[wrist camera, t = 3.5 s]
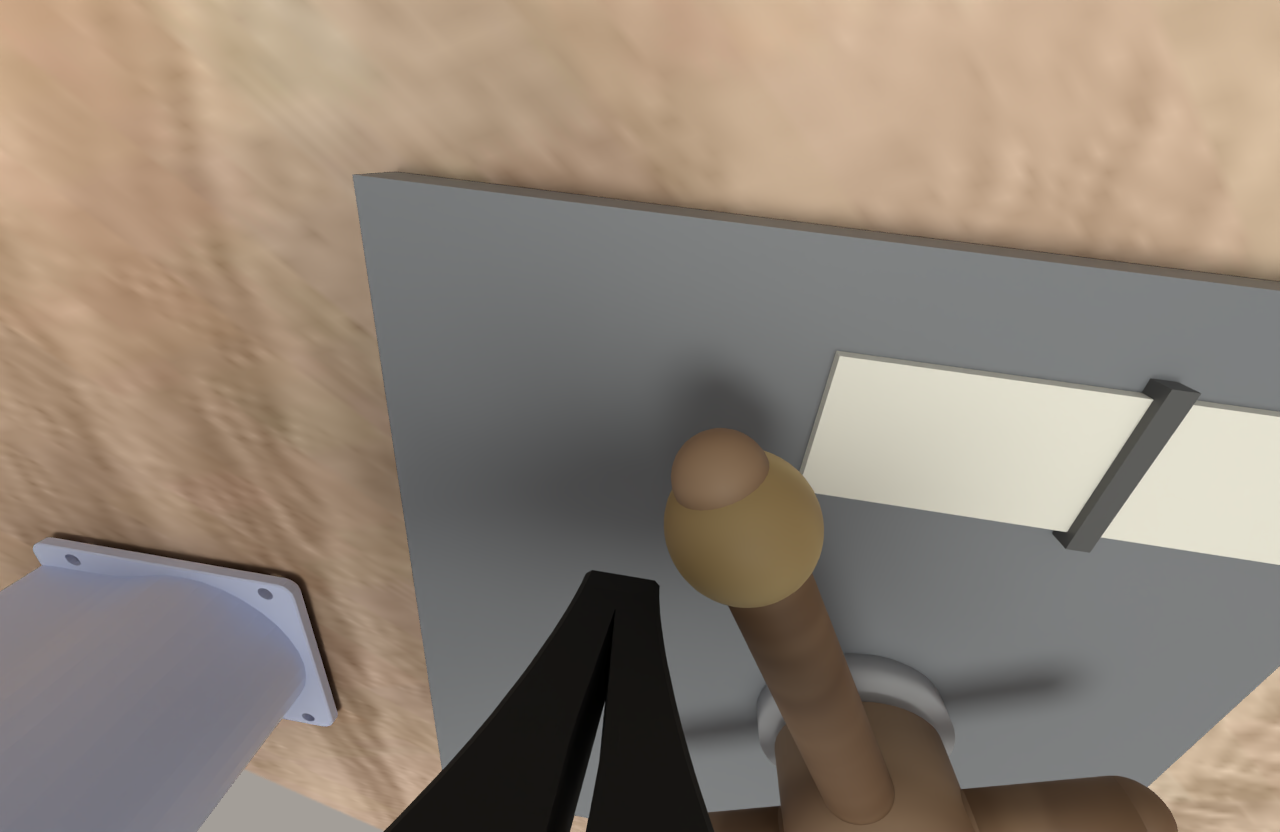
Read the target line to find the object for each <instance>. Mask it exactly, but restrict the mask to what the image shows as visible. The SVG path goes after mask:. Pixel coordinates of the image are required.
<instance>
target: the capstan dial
mask: <svg viewBox="0 0 1280 832" xmlns="http://www.w3.org/2000/svg"><path fill="white" fill-rule="evenodd" d="M671 484H672V490H671V492H670V495H669V497H668V500H667V504H666V508H665V513H664V535H665V541H666V545H667V549H668V551H669V554H670V556H671V559H672V561H673V563H674V565H675V566H676V568H677V569H678V571H679V573H680V574H681V575H682V577H683V578H684V579H685V580H686V581H687V582H688V583H689V584H690V585H691V586H692V587H693V588H694V589H695V590H697V591H698V592H699V593H701V594H702V595H704V596H706V597H708V598H710V599H711V600H713V601H716V602H718V603H721V604H724V605H728V607H729V609H730V611H731V613H732V615H733V617H734V619H735V621H736V623H737V625H738V627H739V629H740V631H741V633H742V635H743V637H744V639H745V641H746V643H747V645H748V648H749V650H750V652H751V654H752V656H753V658H754V660H755V662H756V664H757V666H758V668H759V670H760V672H761V674H762V676H763V678H764V680H765V682H766V684H767V686H768V688H769V690H770V692H771V694H772V696H773V698H774V700H775V702H776V704H777V707H778V709H779V711H780V713H781V715H782V717H783V719H784V721H785V723H786V724H785V725H784V726H783V728H782V729H781V730H780V731H779V733H778V735H777V737H776V741H775V749H774V750H775V759H776V768H777V777H778V786H779V795H780V804H781V806H771V807H760V808H750V809H739V810H728V811H717V812H708V814H709V817H710V820H711V823H712V826H713V829H714V832H1178V830H1177V824H1176V822H1175V819H1174V817H1173V815H1172V813H1171V811H1170V810H1169V808H1168V807H1167V806H1166V804H1165V803H1164V802H1163V801H1162V800H1161V799H1160V798H1159V797H1158V796H1157V795H1156V794H1155V793H1154V792H1153V791H1151V790H1150V789H1149V788H1147V787H1146V786H1144V785H1143V784H1141V783H1139V782H1137V781H1135V780H1132V779H1130V778H1127V777H1122V776H1110V775H1109V776H1098V777H1087V778H1076V779H1065V780H1055V781H1044V782H1033V783H1022V784H1011V785H1000V786H989V787H978V788H967V789H961V787H960V785H959V782H958V780H957V777H956V775H955V772H954V770H953V767H952V765H951V762H950V760H949V757H948V754H947V752H946V749H945V747H944V744H943V742H942V740H941V737H940V735H939V734H938V732H937V731H936V729H935V728H934V727H933V726H932V725H931V724H930V723H928V722H927V721H926V720H924V719H923V718H921V717H920V716H918V715H916V714H914V713H912V712H910V711H907V710H905V709H902V708H899V707H896V706H892V705H887V704H883V703H876V702H863V701H861V698H860V696H859V693H858V690H857V688H856V685H855V683H854V680H853V677H852V675H851V672H850V670H849V667H848V664H847V662H846V659H845V657H844V654H843V651H842V649H841V646H840V644H839V641H838V638H837V636H836V633H835V631H834V628H833V625H832V623H831V620H830V618H829V615H828V612H827V610H826V607H825V605H824V602H823V600H822V597H821V594H820V592H819V589H818V587H817V584H816V581H815V579H814V576H813V574H812V572H813V570H814V568H815V566H816V564H817V562H818V560H819V558H820V554H821V551H822V546H823V540H824V522H823V516H822V511H821V507H820V504H819V502H818V499H817V497H816V495H815V493H814V490H813V489H812V487H811V486H810V484H809V483H808V481H807V480H806V479H805V478H804V476H803V475H802V474H801V473H800V472H799V471H798V470H797V469H796V468H794V467H793V466H792V465H791V464H790V463H788V462H787V461H785V460H784V459H782V458H780V457H778V456H776V455H774V454H772V453H769V452H767V451H763V449H762V448H761V447H760V446H759V445H758V444H757V443H756V441H755V440H753V439H752V438H750V437H749V436H747V435H746V434H744V433H742V432H739V431H737V430H733V429H727V428H714V429H709V430H705V431H702V432H700V433H698V434H696V435H694V436H693V437H691V438H690V439H689V440H687V441H686V442H685V443H684V444H683V446H682V447H681V448H680V450H679V451H678V453H677V455H676V457H675V459H674V462H673V465H672V470H671Z"/></svg>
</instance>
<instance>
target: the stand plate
mask: <svg viewBox="0 0 1280 832" xmlns="http://www.w3.org/2000/svg"><path fill="white" fill-rule="evenodd" d="M353 181H354V188H355V194H356V201H357V208H358V214H359V221H360V228H361V234H362V241H363V247H364V254H365V261H366V267H367V274H368V281H369V287H370V294H371V301H372V307H373V314H374V321H375V327H376V334H377V340H378V347H379V354H380V360H381V367H382V374H383V380H384V387H385V394H386V400H387V407H388V414H389V420H390V427H391V433H392V440H393V447H394V453H395V460H396V467H397V473H398V480H399V487H400V493H401V500H402V507H403V513H404V520H405V526H406V533H407V540H408V546H409V553H410V560H411V566H412V573H413V580H414V586H415V593H416V600H417V606H418V613H419V620H420V626H421V633H422V639H423V646H424V653H425V659H426V666H427V673H428V679H429V686H430V693H431V699H432V706H433V713H434V719H435V726H436V732H437V739H438V746H439V752H440V759H441V766H442V770H443V769H444V768H445V767H446V766H447V765H448V763H449V762H450V761H451V760H452V759H453V758H454V757H455V756H456V754H457V753H458V752H459V751H460V750H461V749H462V748H463V747H464V745H465V744H466V743H467V742H468V741H469V740H470V739H471V737H472V736H473V735H474V734H475V733H476V732H477V730H478V729H479V728H480V727H481V726H482V724H483V723H484V722H485V721H486V720H487V718H488V717H489V716H490V715H491V714H492V712H493V711H494V710H495V709H496V707H497V706H498V705H499V703H500V702H501V701H502V700H503V698H504V697H505V696H506V694H507V693H508V692H509V691H510V689H511V688H512V687H513V685H514V684H515V683H516V682H517V680H518V679H519V678H520V676H521V675H522V674H523V673H524V671H525V670H526V669H527V667H528V666H529V664H530V663H531V662H532V660H533V659H534V657H535V656H536V654H537V653H538V652H539V650H540V649H541V647H542V646H543V644H544V643H545V641H546V640H547V639H548V637H549V636H550V634H551V633H552V631H553V630H554V628H555V627H556V625H557V624H558V622H559V621H560V619H561V617H562V616H563V614H564V613H565V611H566V609H567V608H568V606H569V604H570V603H571V601H572V599H573V598H574V596H575V594H576V592H577V590H578V588H579V587H580V585H581V583H582V580H583V578H584V576H585V574H586V573H587V572H589V571H591V570H596V571H602V572H608V573H614V574H620V575H626V576H632V577H638V578H644V579H650V580H655V581H656V582H657V583H658V585H659V586H660V590H659V599H660V616H661V625H662V632H663V639H664V646H665V652H666V657H667V663H668V668H669V672H670V677H671V682H672V686H673V691H674V696H675V700H676V704H677V708H678V712H679V717H680V721H681V724H682V728H683V732H684V735H685V739H686V743H687V746H688V750H689V754H690V757H691V760H692V764H693V767H694V771H695V774H696V777H697V780H698V784H699V787H700V790H701V793H702V796H703V799H704V802H705V805H706V808H707V811H708V812H717V811H728V810H739V809H750V808H760V807H771V806H781V804H780V795H779V786H778V777H777V768H776V759H775V750H774V749H775V741H776V737H777V735H778V733H779V731H780V730H781V729H782V728H783V726H784V725H785V724H786V723H785V721H784V719H783V717H782V715H781V713H780V711H779V709H778V707H777V704H776V702H775V700H774V698H773V696H772V694H771V692H770V690H769V688H768V686H767V684H766V682H765V680H764V678H763V676H762V674H761V672H760V670H759V668H758V666H757V664H756V662H755V660H754V658H753V656H752V654H751V652H750V650H749V648H748V645H747V643H746V641H745V639H744V637H743V635H742V633H741V631H740V629H739V627H738V625H737V623H736V621H735V619H734V617H733V615H732V613H731V611H730V609H729V607H728V605H724V604H721V603H718V602H716V601H713V600H711V599H710V598H708V597H706V596H704V595H702V594H701V593H699V592H698V591H697V590H695V589H694V588H693V587H692V586H691V585H690V584H689V583H688V582H687V581H686V580H685V579H684V578H683V577H682V575H681V574H680V573H679V571H678V569H677V568H676V566H675V565H674V563H673V561H672V559H671V556H670V554H669V551H668V549H667V545H666V541H665V535H664V513H665V508H666V504H667V500H668V497H669V495H670V492H671V490H672V484H671V470H672V465H673V462H674V459H675V457H676V455H677V453H678V451H679V450H680V448H681V447H682V446H683V444H684V443H685V442H686V441H687V440H689V439H690V438H691V437H693V436H694V435H696V434H698V433H700V432H702V431H705V430H709V429H714V428H727V429H733V430H737V431H739V432H742V433H744V434H746V435H747V436H749V437H750V438H752V439H753V440H755V441H756V443H757V444H758V445H759V446H760V447H761V448H762V449H763V451H767V452H769V453H772V454H774V455H776V456H778V457H780V458H782V459H784V460H785V461H787V462H788V463H790V464H791V465H792V466H793V467H794V468H796V469H797V470H798V471H799V472H800V473H801V474H802V475H803V476H804V478H805V479H806V480H807V481H808V483H809V484H810V486H811V487H812V489H813V490H814V493H815V495H816V497H817V499H818V502H819V504H820V507H821V511H822V516H823V522H824V540H823V546H822V551H821V554H820V558H819V560H818V562H817V564H816V566H815V568H814V570H813V572H812V574H813V576H814V579H815V581H816V584H817V587H818V589H819V592H820V594H821V597H822V600H823V602H824V605H825V607H826V610H827V612H828V615H829V618H830V620H831V623H832V625H833V628H834V631H835V633H836V636H837V638H838V641H839V644H840V646H841V649H842V651H843V654H844V657H845V659H846V662H847V664H848V667H849V670H850V672H851V675H852V677H853V680H854V683H855V685H856V688H857V690H858V693H859V696H860V698H861V701H863V702H876V703H883V704H887V705H892V706H896V707H899V708H902V709H905V710H907V711H910V712H912V713H914V714H916V715H918V716H920V717H921V718H923V719H924V720H926V721H927V722H928V723H930V724H931V725H932V726H933V727H934V728H935V729H936V731H937V732H938V734H939V735H940V737H941V740H942V742H943V744H944V747H945V749H946V752H947V754H948V757H949V760H950V762H951V765H952V767H953V770H954V772H955V775H956V777H957V780H958V782H959V785H960V787H961V789H967V788H978V787H989V786H1000V785H1011V784H1022V783H1033V782H1044V781H1055V780H1065V779H1076V778H1087V777H1098V776H1109V775H1110V776H1122V777H1127V778H1130V779H1132V780H1135V781H1137V782H1139V783H1141V784H1143V785H1144V786H1146V787H1148V786H1149V785H1150V784H1151V783H1152V782H1154V781H1155V780H1156V779H1157V778H1158V777H1159V776H1160V775H1161V774H1162V773H1163V772H1164V771H1166V770H1167V769H1168V768H1169V767H1170V766H1171V765H1172V764H1173V763H1174V762H1175V761H1176V760H1178V759H1179V758H1180V757H1181V756H1182V755H1183V754H1184V753H1185V752H1186V751H1187V750H1188V749H1190V748H1191V747H1192V746H1193V745H1194V744H1195V743H1196V742H1197V741H1198V740H1199V739H1201V738H1202V737H1203V736H1204V735H1205V734H1206V733H1207V732H1208V731H1209V730H1210V729H1211V728H1213V727H1214V726H1215V725H1216V724H1217V723H1218V722H1219V721H1220V720H1221V719H1222V718H1223V717H1225V716H1226V715H1227V714H1228V713H1229V712H1230V711H1231V710H1232V709H1233V708H1234V707H1236V706H1237V705H1238V704H1239V703H1240V702H1241V701H1242V700H1243V699H1244V698H1245V697H1246V696H1248V695H1249V694H1250V693H1251V692H1252V691H1253V690H1254V689H1255V688H1256V687H1257V686H1258V685H1260V684H1261V683H1262V682H1263V681H1264V680H1265V679H1266V678H1267V677H1268V676H1269V675H1270V674H1272V673H1273V672H1274V671H1275V670H1276V669H1277V668H1278V667H1279V666H1280V282H1278V281H1270V280H1262V279H1254V278H1246V277H1238V276H1230V275H1222V274H1214V273H1206V272H1198V271H1190V270H1182V269H1174V268H1166V267H1158V266H1149V265H1141V264H1133V263H1125V262H1117V261H1109V260H1101V259H1093V258H1085V257H1077V256H1069V255H1061V254H1053V253H1045V252H1037V251H1029V250H1021V249H1013V248H1005V247H997V246H989V245H981V244H973V243H965V242H957V241H949V240H941V239H933V238H925V237H916V236H908V235H900V234H892V233H884V232H876V231H868V230H860V229H852V228H844V227H836V226H828V225H820V224H812V223H804V222H796V221H788V220H780V219H772V218H764V217H756V216H748V215H740V214H732V213H724V212H716V211H708V210H700V209H691V208H683V207H675V206H667V205H659V204H651V203H643V202H635V201H627V200H619V199H611V198H603V197H595V196H587V195H579V194H571V193H563V192H555V191H547V190H539V189H531V188H523V187H515V186H507V185H499V184H491V183H483V182H475V181H466V180H458V179H450V178H442V177H434V176H426V175H418V174H410V173H402V172H384V173H369V174H354V175H353ZM604 706H605V703H604ZM603 717H604V707H603V711H602V714H601V718H600V722H599V726H598V729H597V733H596V737H595V741H594V744H593V748H592V752H591V755H590V759H589V763H588V766H587V770H586V774H585V778H584V781H583V785H582V789H581V792H580V796H579V800H578V803H577V807H576V811H575V814H574V815H575V816H580V817H586V818H589V813H590V808H591V802H592V797H593V792H594V786H595V781H596V776H597V770H598V765H599V757H600V747H601V737H602V727H603Z"/></svg>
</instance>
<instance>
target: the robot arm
mask: <svg viewBox="0 0 1280 832" xmlns="http://www.w3.org/2000/svg"><path fill="white" fill-rule="evenodd" d="M33 551H34V554H35V555H36V557H37V558H38V560H39V562H40V563H41V565H42V566H40V567H39V568H37V569H35V570H34V571H32V572H30V573H29V574H27V575H26V576H24V577H22V578H21V579H19V580H18V581H16V582H14V583H13V584H11V585H10V586H8V587H6V588H5V589H3V590H2V591H0V832H197V831H198V830H199V828H200V827H201V826H202V824H203V823H204V822H205V820H206V819H207V818H208V816H209V815H210V814H211V812H212V811H213V809H214V808H215V807H216V806H217V804H218V803H219V802H220V800H221V799H222V798H223V796H224V795H225V794H226V792H227V791H228V790H229V788H230V787H231V786H232V784H233V783H234V782H235V780H236V779H237V778H238V776H239V775H240V774H241V772H242V771H243V770H244V768H245V767H246V766H247V764H248V763H249V762H250V760H251V759H252V758H253V756H254V755H255V754H256V752H257V751H258V750H259V749H260V747H261V746H262V745H263V743H264V742H265V741H266V739H267V738H268V737H269V735H270V734H271V733H272V731H273V730H274V729H275V727H276V726H277V725H278V723H279V722H280V721H281V719H287V720H292V721H298V722H303V723H308V724H313V725H319V726H330V725H332V724H333V722H334V721H335V719H336V718H337V716H338V713H337V709H336V706H335V703H334V699H333V696H332V693H331V689H330V686H329V683H328V679H327V676H326V673H325V669H324V666H323V663H322V660H321V656H320V653H319V650H318V646H317V643H316V640H315V636H314V633H313V630H312V626H311V623H310V620H309V616H308V613H307V610H306V606H305V603H304V600H303V596H302V593H301V590H300V588H299V586H298V585H297V584H296V583H295V582H294V581H292V580H290V579H287V578H283V577H277V576H272V575H266V574H260V573H254V572H249V571H243V570H237V569H231V568H226V567H220V566H214V565H208V564H203V563H197V562H191V561H185V560H180V559H174V558H168V557H162V556H157V555H151V554H145V553H139V552H134V551H128V550H122V549H116V548H111V547H105V546H99V545H93V544H88V543H82V542H76V541H70V540H65V539H59V538H52V537H47V538H45V539H43V540H41V541H40V542H38V543H36V544H34V546H33ZM659 590H660V586H659V585H658V583H657V582H656V581H655V580H650V579H644V578H638V577H632V576H626V575H620V574H614V573H608V572H602V571H596V570H591V571H589V572H587V573H586V574H585V576H584V578H583V580H582V583H581V585H580V587H579V588H578V590H577V592H576V594H575V596H574V598H573V599H572V601H571V603H570V604H569V606H568V608H567V609H566V611H565V613H564V614H563V616H562V617H561V619H560V621H559V622H558V624H557V625H556V627H555V628H554V630H553V631H552V633H551V634H550V636H549V637H548V639H547V640H546V641H545V643H544V644H543V646H542V647H541V649H540V650H539V652H538V653H537V654H536V656H535V657H534V659H533V660H532V662H531V663H530V664H529V666H528V667H527V669H526V670H525V671H524V673H523V674H522V675H521V676H520V678H519V679H518V680H517V682H516V683H515V684H514V685H513V687H512V688H511V689H510V691H509V692H508V693H507V694H506V696H505V697H504V698H503V700H502V701H501V702H500V703H499V705H498V706H497V707H496V709H495V710H494V711H493V712H492V714H491V715H490V716H489V717H488V718H487V720H486V721H485V722H484V723H483V724H482V726H481V727H480V728H479V729H478V730H477V732H476V733H475V734H474V735H473V736H472V737H471V739H470V740H469V741H468V742H467V743H466V744H465V745H464V747H463V748H462V749H461V750H460V751H459V752H458V753H457V754H456V756H455V757H454V758H453V759H452V760H451V761H450V762H449V763H448V765H447V766H446V767H445V768H444V769H443V770H442V771H441V772H440V773H439V774H438V776H437V777H436V778H435V779H434V780H433V781H432V782H431V783H430V784H429V785H428V786H427V787H426V788H425V789H424V790H423V791H422V792H421V793H420V795H419V796H418V797H417V798H416V799H415V800H414V801H413V802H412V803H411V804H410V805H409V806H408V807H407V808H406V809H405V810H404V811H403V812H402V813H401V815H400V816H399V817H398V818H397V819H396V820H395V821H394V822H393V823H392V824H391V825H390V826H389V827H388V828H387V829H386V830H385V831H384V832H570V829H571V826H572V822H573V818H574V814H575V811H576V807H577V803H578V800H579V796H580V792H581V789H582V785H583V781H584V778H585V774H586V770H587V766H588V763H589V759H590V755H591V752H592V748H593V744H594V741H595V737H596V733H597V729H598V726H599V722H600V718H601V714H602V711H603V707H604V717H603V727H602V737H601V747H600V757H599V765H598V770H597V776H596V781H595V786H594V792H593V797H592V802H591V808H590V813H589V818H588V823H587V829H586V832H714V829H713V826H712V823H711V820H710V817H709V814H708V811H707V808H706V805H705V802H704V799H703V796H702V793H701V790H700V787H699V784H698V780H697V777H696V774H695V771H694V767H693V764H692V760H691V757H690V754H689V750H688V746H687V743H686V739H685V735H684V732H683V728H682V724H681V721H680V717H679V712H678V708H677V704H676V700H675V696H674V691H673V686H672V682H671V677H670V672H669V668H668V663H667V657H666V652H665V646H664V639H663V632H662V625H661V616H660V599H659ZM604 703H605V706H604Z"/></svg>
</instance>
